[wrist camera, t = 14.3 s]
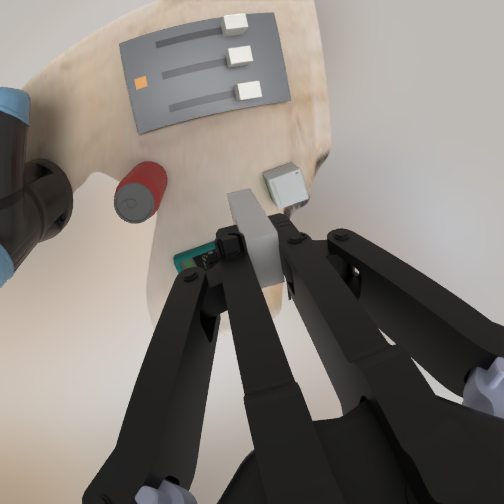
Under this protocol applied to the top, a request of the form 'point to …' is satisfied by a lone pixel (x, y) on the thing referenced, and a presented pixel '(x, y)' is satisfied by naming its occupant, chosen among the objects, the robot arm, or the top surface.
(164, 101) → the breaker panel
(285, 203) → the small box
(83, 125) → the top surface
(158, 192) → the beer can
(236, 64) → the handle
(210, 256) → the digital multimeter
